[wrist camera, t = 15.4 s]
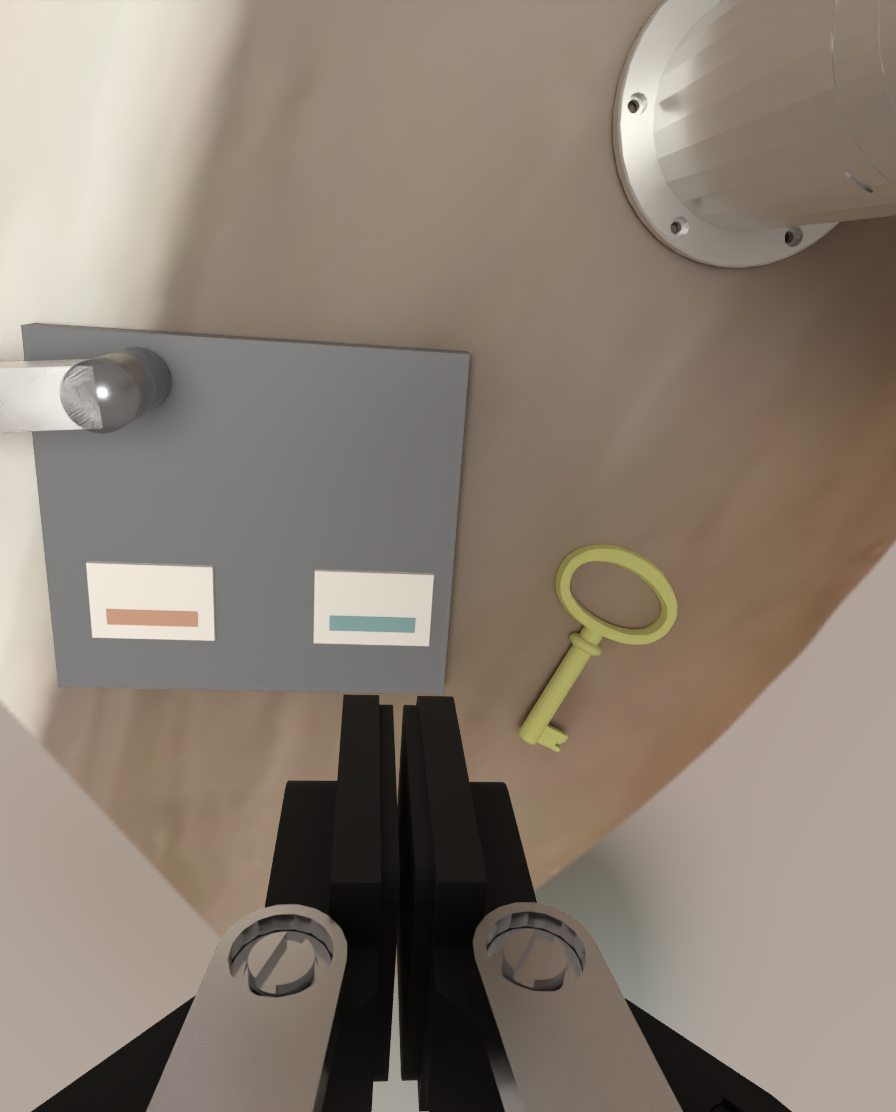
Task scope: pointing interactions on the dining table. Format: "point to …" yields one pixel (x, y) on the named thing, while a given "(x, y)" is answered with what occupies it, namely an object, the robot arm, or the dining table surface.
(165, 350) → the label panel
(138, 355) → the swing arm
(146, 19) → the dining table surface
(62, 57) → the dining table surface
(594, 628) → the key
